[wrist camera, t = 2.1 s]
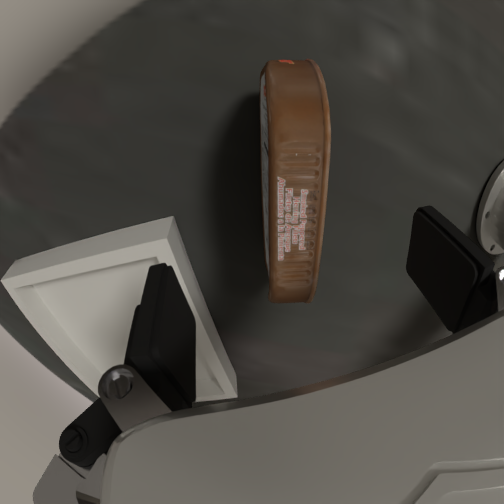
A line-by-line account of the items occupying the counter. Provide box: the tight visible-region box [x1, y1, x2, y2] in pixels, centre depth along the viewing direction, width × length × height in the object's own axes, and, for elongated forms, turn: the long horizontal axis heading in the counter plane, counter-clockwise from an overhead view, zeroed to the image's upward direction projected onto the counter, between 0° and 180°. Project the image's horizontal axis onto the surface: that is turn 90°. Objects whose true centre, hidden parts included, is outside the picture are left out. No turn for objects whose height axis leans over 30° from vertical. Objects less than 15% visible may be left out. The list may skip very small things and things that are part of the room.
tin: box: [260, 59, 331, 303], centre depth 17 cm, size 15×3×8 cm, turn 2°
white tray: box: [1, 216, 238, 402], centre depth 27 cm, size 18×22×3 cm
